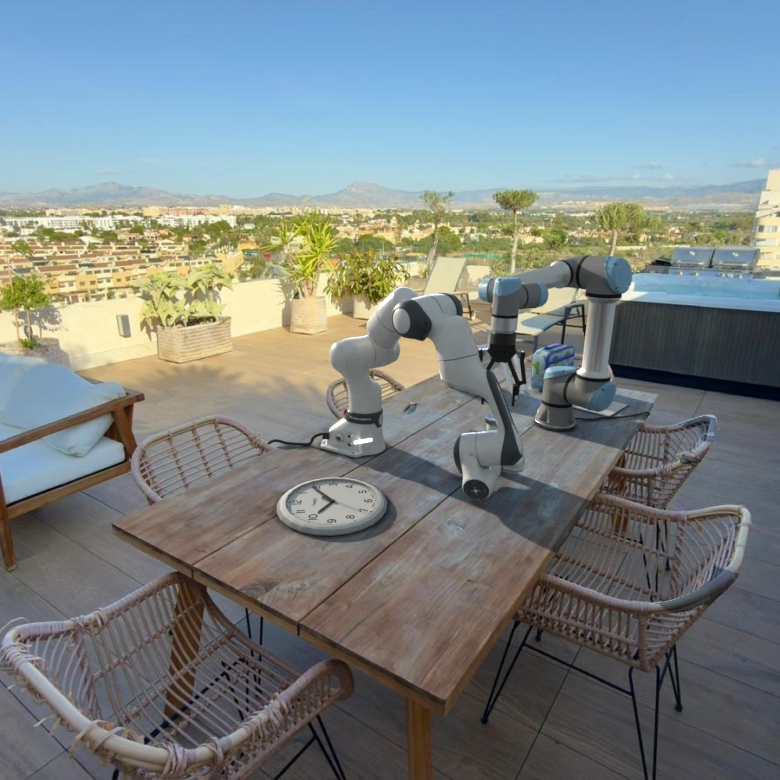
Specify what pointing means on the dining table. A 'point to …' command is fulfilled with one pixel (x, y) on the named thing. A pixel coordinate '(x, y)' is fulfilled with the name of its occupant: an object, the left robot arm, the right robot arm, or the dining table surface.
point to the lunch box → (550, 361)
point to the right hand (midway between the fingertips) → (497, 404)
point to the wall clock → (331, 506)
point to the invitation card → (609, 411)
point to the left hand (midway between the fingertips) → (494, 448)
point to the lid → (490, 420)
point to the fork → (411, 403)
